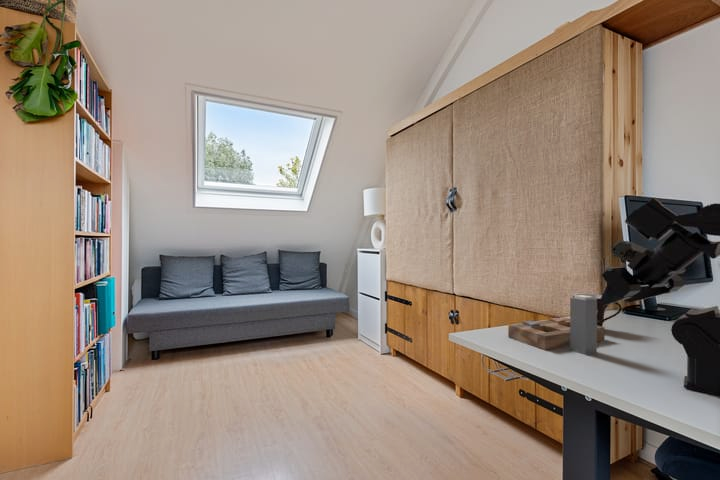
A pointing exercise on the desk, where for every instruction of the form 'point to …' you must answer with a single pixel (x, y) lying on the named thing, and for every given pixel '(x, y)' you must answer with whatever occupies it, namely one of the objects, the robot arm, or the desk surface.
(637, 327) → the desk surface
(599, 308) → the coffee mug
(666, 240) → the robot arm
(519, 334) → the socket board
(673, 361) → the desk surface
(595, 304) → the plug
